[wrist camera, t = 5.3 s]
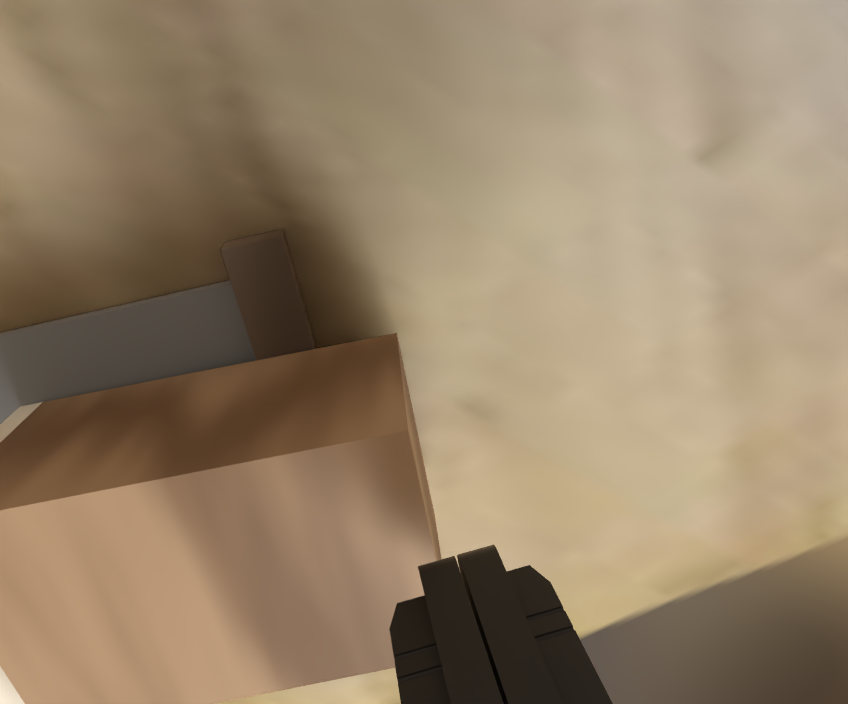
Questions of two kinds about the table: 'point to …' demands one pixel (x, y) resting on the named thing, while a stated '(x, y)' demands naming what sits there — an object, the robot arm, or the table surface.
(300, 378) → the walnut block
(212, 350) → the slate-grey rubber mat
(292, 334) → the stop strip
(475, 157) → the table surface
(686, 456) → the table surface
